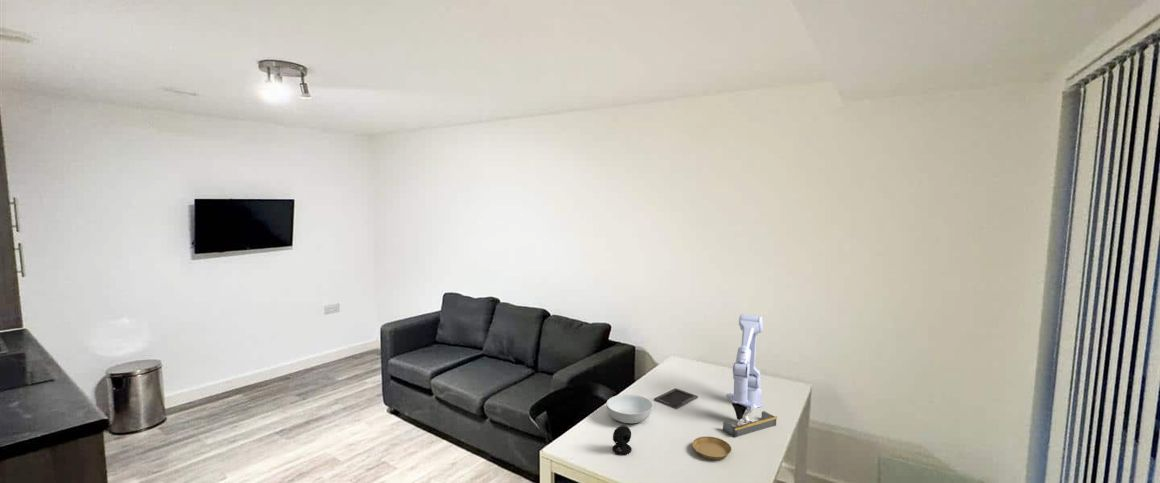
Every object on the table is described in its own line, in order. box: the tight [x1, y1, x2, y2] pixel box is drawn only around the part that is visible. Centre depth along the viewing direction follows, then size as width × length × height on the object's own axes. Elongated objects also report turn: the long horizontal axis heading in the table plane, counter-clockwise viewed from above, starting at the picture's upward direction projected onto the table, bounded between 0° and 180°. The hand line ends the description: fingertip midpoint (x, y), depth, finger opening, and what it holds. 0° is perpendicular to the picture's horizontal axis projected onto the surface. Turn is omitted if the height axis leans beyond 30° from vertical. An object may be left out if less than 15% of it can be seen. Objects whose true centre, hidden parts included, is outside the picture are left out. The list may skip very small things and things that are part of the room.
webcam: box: [611, 425, 633, 456], centre depth 181 cm, size 8×8×10 cm
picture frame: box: [653, 387, 699, 410], centre depth 228 cm, size 13×2×18 cm
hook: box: [736, 404, 758, 427], centre depth 200 cm, size 8×12×7 cm
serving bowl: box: [605, 394, 654, 424], centre depth 208 cm, size 21×21×7 cm
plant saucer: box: [692, 435, 732, 461], centre depth 180 cm, size 15×15×3 cm
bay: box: [722, 410, 778, 438], centre depth 199 cm, size 24×7×4 cm, turn 116°
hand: (739, 419), depth 205 cm, fingers closed
